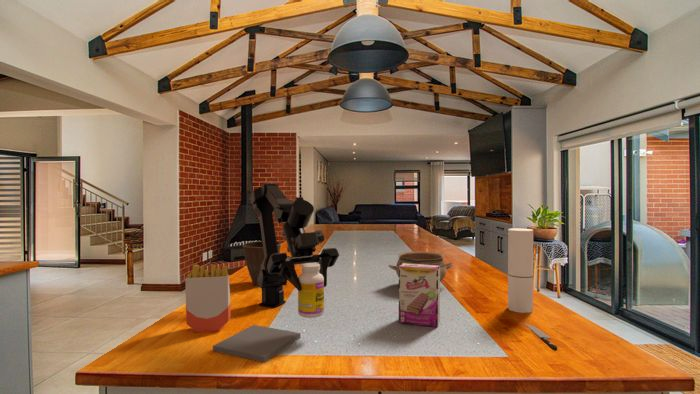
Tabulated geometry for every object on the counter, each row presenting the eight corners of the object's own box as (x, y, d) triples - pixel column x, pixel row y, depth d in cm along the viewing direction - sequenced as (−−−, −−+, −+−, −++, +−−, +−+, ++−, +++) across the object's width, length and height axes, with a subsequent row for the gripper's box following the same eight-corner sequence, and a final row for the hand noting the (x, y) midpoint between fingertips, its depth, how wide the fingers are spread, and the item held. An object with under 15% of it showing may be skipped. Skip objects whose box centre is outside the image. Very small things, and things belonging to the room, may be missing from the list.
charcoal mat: (213, 350, 91) (212, 345, 91) (253, 329, 105) (253, 324, 105) (264, 362, 85) (264, 356, 85) (300, 337, 99) (300, 333, 99)
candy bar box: (398, 323, 108) (397, 266, 108) (401, 317, 113) (401, 262, 112) (438, 328, 104) (438, 268, 104) (440, 322, 109) (440, 264, 109)
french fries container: (190, 327, 107) (189, 262, 106) (230, 324, 109) (229, 261, 108) (186, 333, 102) (185, 266, 102) (228, 330, 104) (227, 264, 104)
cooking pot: (443, 279, 158) (443, 250, 157) (461, 292, 139) (461, 259, 139) (383, 282, 155) (383, 252, 155) (394, 295, 136) (394, 261, 136)
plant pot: (277, 288, 147) (276, 246, 146) (238, 288, 147) (237, 247, 147) (284, 278, 162) (283, 241, 161) (249, 279, 162) (248, 241, 162)
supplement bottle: (317, 320, 94) (316, 268, 94) (293, 317, 97) (292, 266, 96) (328, 311, 100) (327, 262, 100) (305, 308, 103) (305, 261, 102)
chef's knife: (532, 323, 109) (521, 322, 109) (532, 319, 109) (521, 318, 109) (566, 352, 90) (553, 351, 90) (566, 347, 90) (553, 346, 90)
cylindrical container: (532, 307, 122) (533, 228, 121) (533, 314, 115) (533, 231, 114) (508, 304, 125) (508, 227, 124) (507, 311, 118) (507, 230, 117)
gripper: (269, 222, 96) (285, 275, 87) (336, 218, 105) (356, 266, 96) (261, 248, 104) (274, 299, 94) (324, 243, 113) (341, 289, 103)
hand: (313, 288), depth 97 cm, fingers closed on supplement bottle, 7 cm apart
